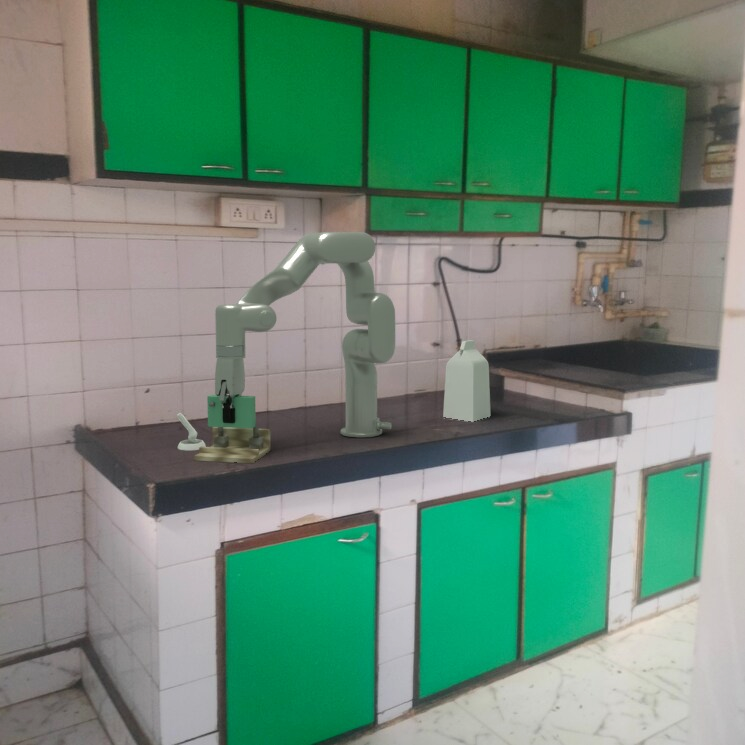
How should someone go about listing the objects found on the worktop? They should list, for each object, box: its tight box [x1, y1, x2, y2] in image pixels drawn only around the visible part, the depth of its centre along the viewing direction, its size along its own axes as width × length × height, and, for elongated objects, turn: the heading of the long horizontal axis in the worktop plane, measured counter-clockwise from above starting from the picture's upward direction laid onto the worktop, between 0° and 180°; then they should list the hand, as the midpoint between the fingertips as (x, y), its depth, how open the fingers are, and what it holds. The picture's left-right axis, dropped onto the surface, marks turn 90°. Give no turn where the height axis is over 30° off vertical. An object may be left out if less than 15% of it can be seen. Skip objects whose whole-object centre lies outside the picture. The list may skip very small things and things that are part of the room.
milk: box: [442, 339, 491, 423], centre depth 243 cm, size 12×12×26 cm
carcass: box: [193, 426, 272, 464], centre depth 191 cm, size 16×14×7 cm
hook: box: [176, 412, 207, 451], centre depth 201 cm, size 8×12×7 cm
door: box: [207, 394, 257, 428], centre depth 190 cm, size 12×4×8 cm, turn 79°
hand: (231, 420), depth 191 cm, fingers closed on door, 3 cm apart
